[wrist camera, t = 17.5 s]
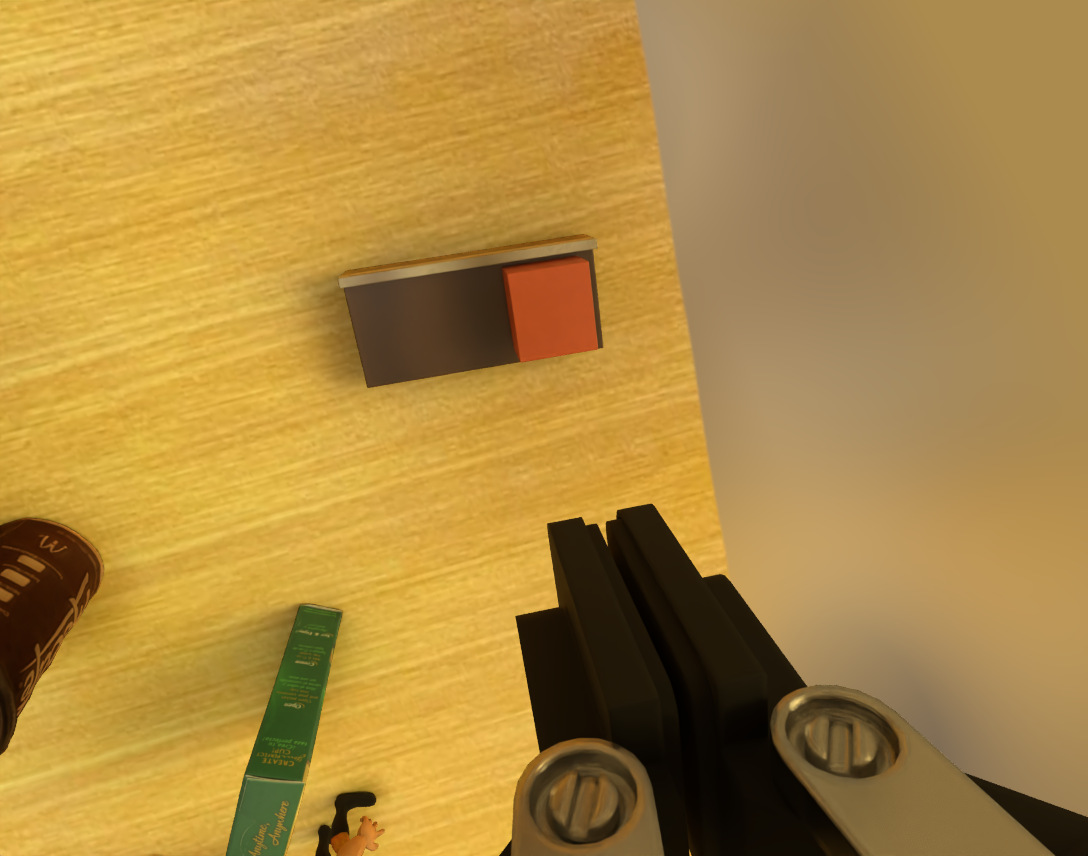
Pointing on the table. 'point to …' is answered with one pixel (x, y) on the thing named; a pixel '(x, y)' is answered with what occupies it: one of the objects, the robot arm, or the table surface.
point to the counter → (445, 310)
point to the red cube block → (550, 307)
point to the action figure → (339, 832)
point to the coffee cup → (38, 604)
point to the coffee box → (286, 738)
